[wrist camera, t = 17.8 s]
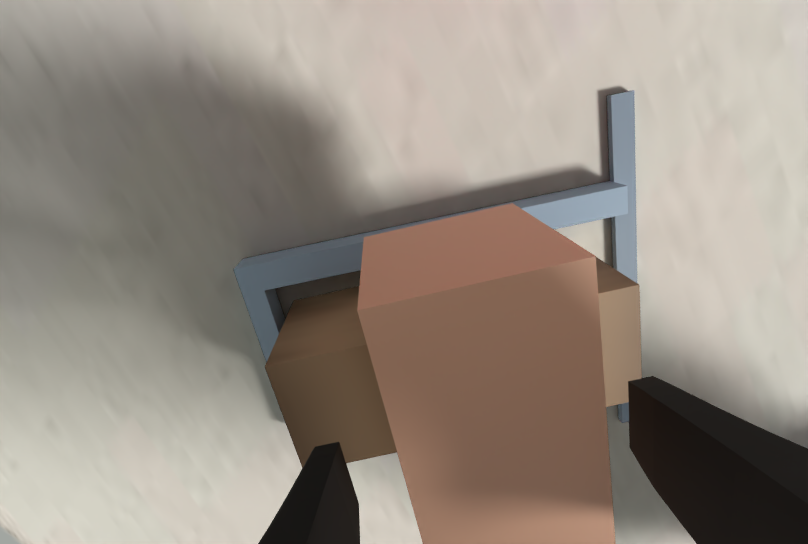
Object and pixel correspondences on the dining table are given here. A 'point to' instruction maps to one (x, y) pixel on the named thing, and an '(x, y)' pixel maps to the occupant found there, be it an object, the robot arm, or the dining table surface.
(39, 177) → the dining table surface
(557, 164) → the dining table surface
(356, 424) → the wooden block on base
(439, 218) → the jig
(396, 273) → the pinkish tan block
